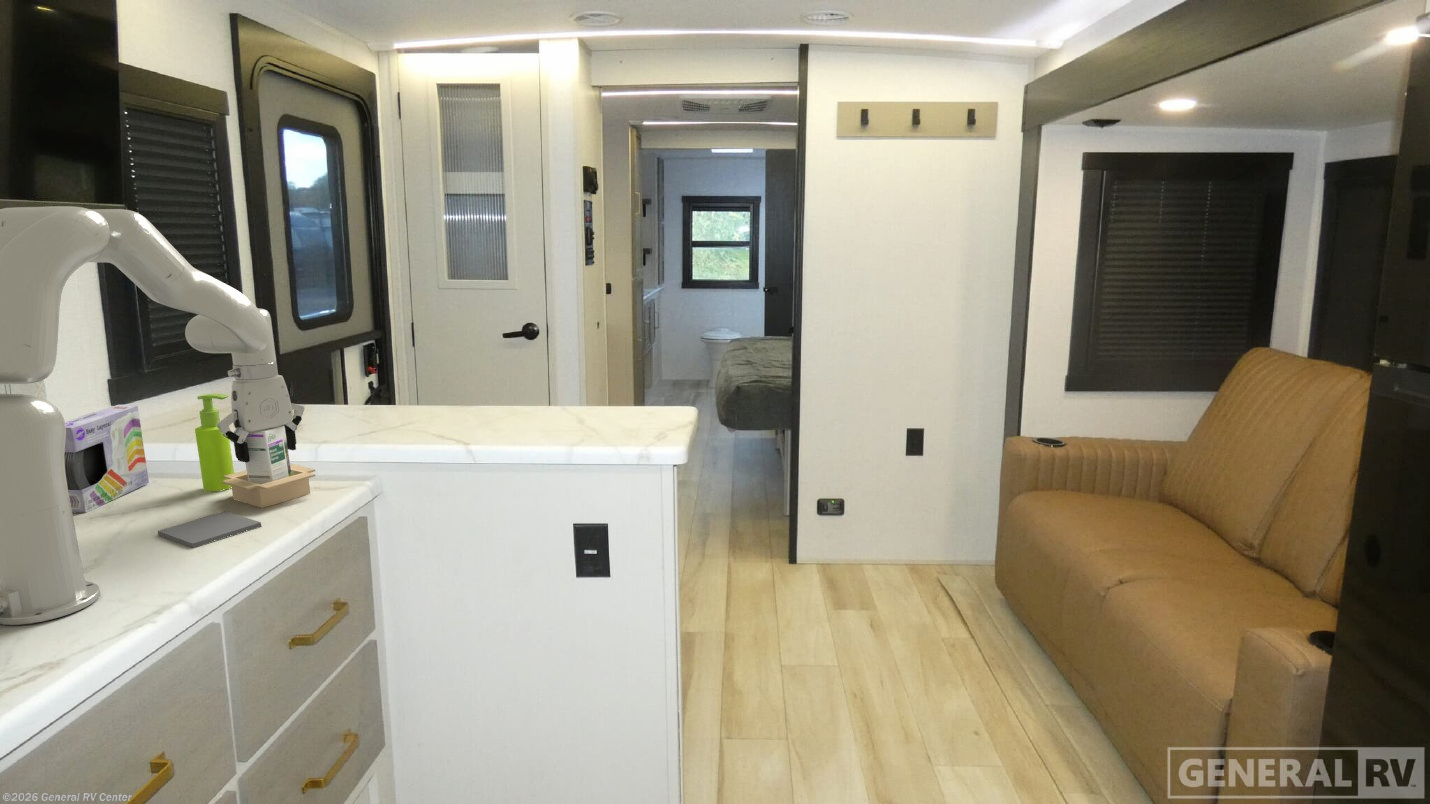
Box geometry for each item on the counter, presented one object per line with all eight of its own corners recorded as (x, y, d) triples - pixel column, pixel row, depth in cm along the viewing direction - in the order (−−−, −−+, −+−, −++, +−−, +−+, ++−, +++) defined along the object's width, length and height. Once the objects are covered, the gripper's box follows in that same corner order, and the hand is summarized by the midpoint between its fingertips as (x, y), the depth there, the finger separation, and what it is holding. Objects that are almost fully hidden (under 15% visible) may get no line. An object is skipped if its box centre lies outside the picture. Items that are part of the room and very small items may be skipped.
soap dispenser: (230, 491, 176) (217, 397, 172) (197, 492, 176) (183, 397, 172) (246, 483, 182) (233, 391, 178) (214, 483, 182) (201, 391, 178)
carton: (259, 513, 163) (256, 490, 162) (216, 500, 171) (213, 478, 170) (326, 492, 175) (324, 471, 174) (283, 481, 183) (281, 461, 182)
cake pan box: (83, 515, 163) (67, 426, 160) (58, 515, 164) (41, 426, 160) (152, 484, 182) (139, 403, 178) (130, 484, 182) (116, 403, 179)
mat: (193, 547, 146) (192, 543, 146) (158, 534, 153) (157, 530, 152) (261, 526, 156) (260, 522, 156) (225, 515, 162) (225, 511, 162)
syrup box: (275, 501, 170) (266, 431, 167) (249, 500, 171) (239, 430, 168) (294, 492, 175) (286, 424, 172) (269, 491, 176) (260, 423, 173)
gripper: (222, 381, 159) (235, 469, 162) (308, 366, 173) (318, 447, 177) (200, 377, 162) (213, 463, 166) (286, 363, 177) (296, 442, 181)
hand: (267, 455), depth 171 cm, fingers open, 9 cm apart
